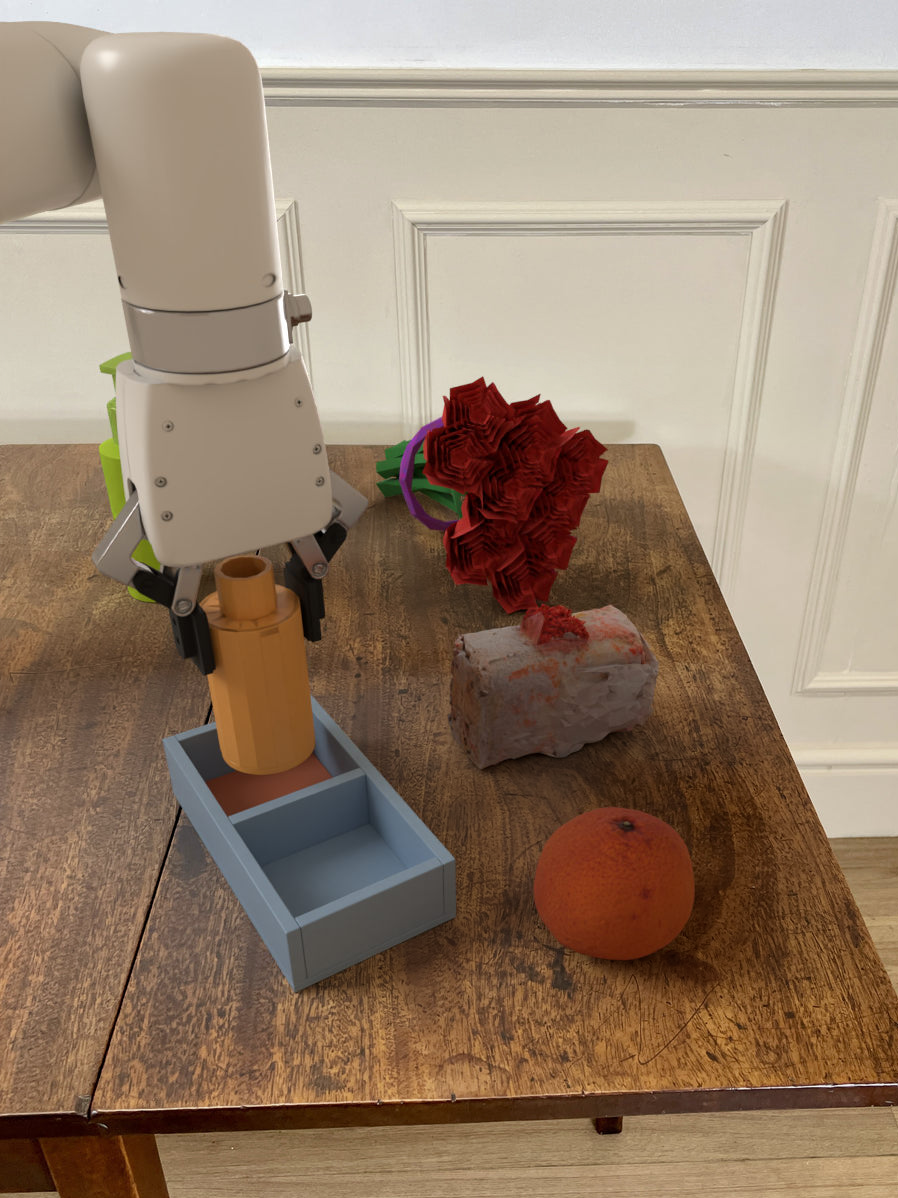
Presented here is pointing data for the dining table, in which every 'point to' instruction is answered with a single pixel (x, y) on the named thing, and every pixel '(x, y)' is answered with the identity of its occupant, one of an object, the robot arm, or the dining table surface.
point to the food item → (549, 684)
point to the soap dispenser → (120, 474)
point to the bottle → (258, 669)
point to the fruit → (614, 884)
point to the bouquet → (499, 488)
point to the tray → (315, 850)
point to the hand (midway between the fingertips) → (254, 644)
